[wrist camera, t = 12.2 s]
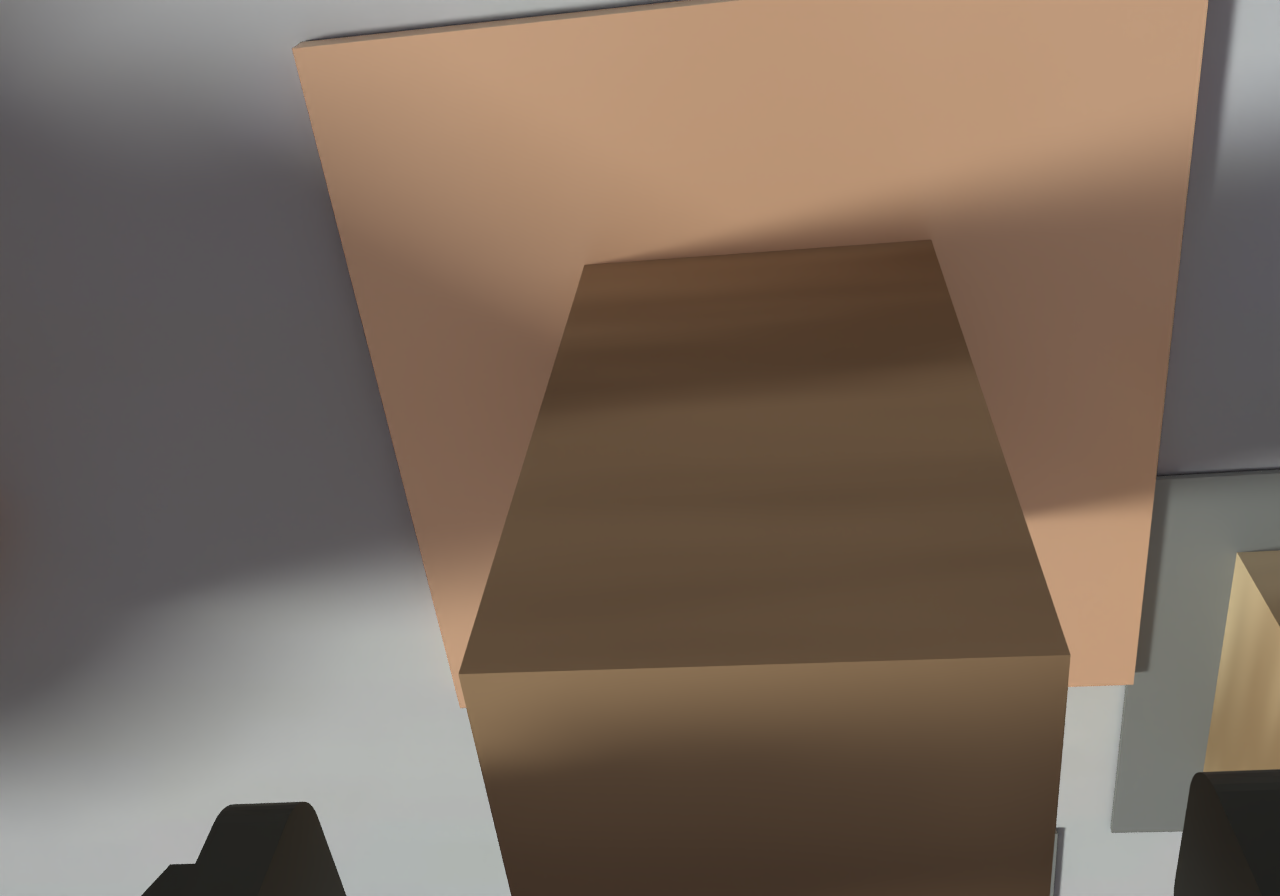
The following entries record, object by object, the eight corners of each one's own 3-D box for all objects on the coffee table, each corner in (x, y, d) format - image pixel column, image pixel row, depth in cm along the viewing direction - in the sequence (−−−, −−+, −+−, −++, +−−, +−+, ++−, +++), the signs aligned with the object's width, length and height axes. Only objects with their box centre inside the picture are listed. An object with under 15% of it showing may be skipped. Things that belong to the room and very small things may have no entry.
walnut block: (584, 264, 18) (458, 674, 10) (930, 239, 17) (1070, 654, 10) (623, 542, 21) (545, 1038, 13) (928, 529, 20) (1037, 1041, 12)
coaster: (301, 42, 17) (291, 48, 17) (1204, -56, 16) (1214, -51, 15) (464, 693, 23) (460, 707, 23) (1127, 669, 22) (1132, 684, 21)
